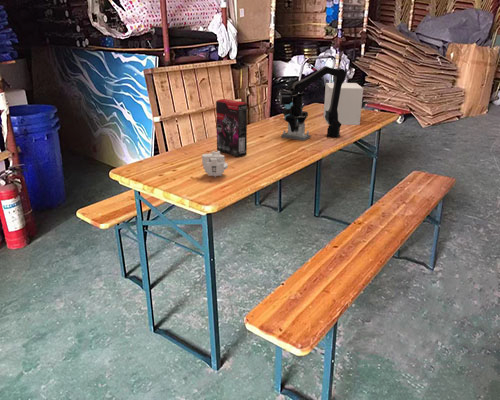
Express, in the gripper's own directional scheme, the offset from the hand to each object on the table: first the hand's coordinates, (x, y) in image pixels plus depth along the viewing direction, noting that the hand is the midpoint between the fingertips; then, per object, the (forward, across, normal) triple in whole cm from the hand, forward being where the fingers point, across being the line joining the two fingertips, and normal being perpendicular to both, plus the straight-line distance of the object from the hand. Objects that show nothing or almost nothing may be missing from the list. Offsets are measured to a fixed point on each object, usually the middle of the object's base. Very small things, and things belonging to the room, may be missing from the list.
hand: (296, 130), depth 262 cm
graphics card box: (+4, +48, -14) cm, 50 cm away
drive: (+2, 0, 0) cm, 3 cm away
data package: (+4, -40, -22) cm, 46 cm away
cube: (+5, -59, +6) cm, 59 cm away
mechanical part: (+4, +82, 0) cm, 82 cm away
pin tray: (+4, 0, 0) cm, 4 cm away
